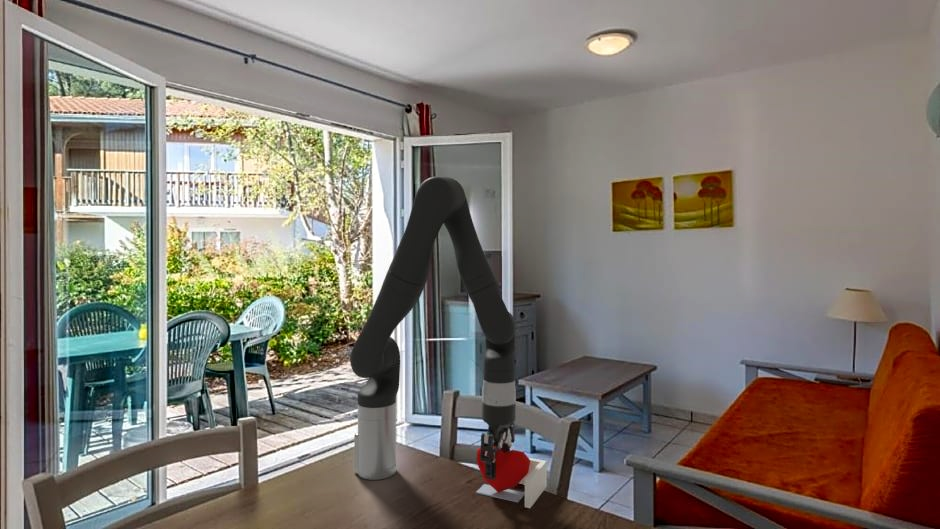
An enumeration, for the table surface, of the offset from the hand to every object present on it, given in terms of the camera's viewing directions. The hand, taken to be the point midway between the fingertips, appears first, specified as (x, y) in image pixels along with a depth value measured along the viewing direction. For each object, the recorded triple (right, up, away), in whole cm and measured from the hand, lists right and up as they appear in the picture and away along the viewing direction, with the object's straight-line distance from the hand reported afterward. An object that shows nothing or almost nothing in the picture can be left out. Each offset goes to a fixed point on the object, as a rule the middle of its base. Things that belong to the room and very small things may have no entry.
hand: (498, 471), depth 117 cm
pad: (+1, -5, 0) cm, 5 cm away
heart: (0, -5, 0) cm, 5 cm away
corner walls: (+3, -5, +1) cm, 6 cm away
